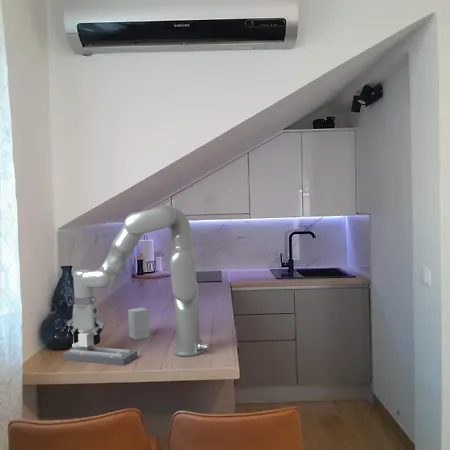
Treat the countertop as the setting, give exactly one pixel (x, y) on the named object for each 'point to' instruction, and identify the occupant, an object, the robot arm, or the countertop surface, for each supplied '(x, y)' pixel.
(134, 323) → the supplement box
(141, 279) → the countertop surface
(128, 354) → the fader console
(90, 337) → the cap
